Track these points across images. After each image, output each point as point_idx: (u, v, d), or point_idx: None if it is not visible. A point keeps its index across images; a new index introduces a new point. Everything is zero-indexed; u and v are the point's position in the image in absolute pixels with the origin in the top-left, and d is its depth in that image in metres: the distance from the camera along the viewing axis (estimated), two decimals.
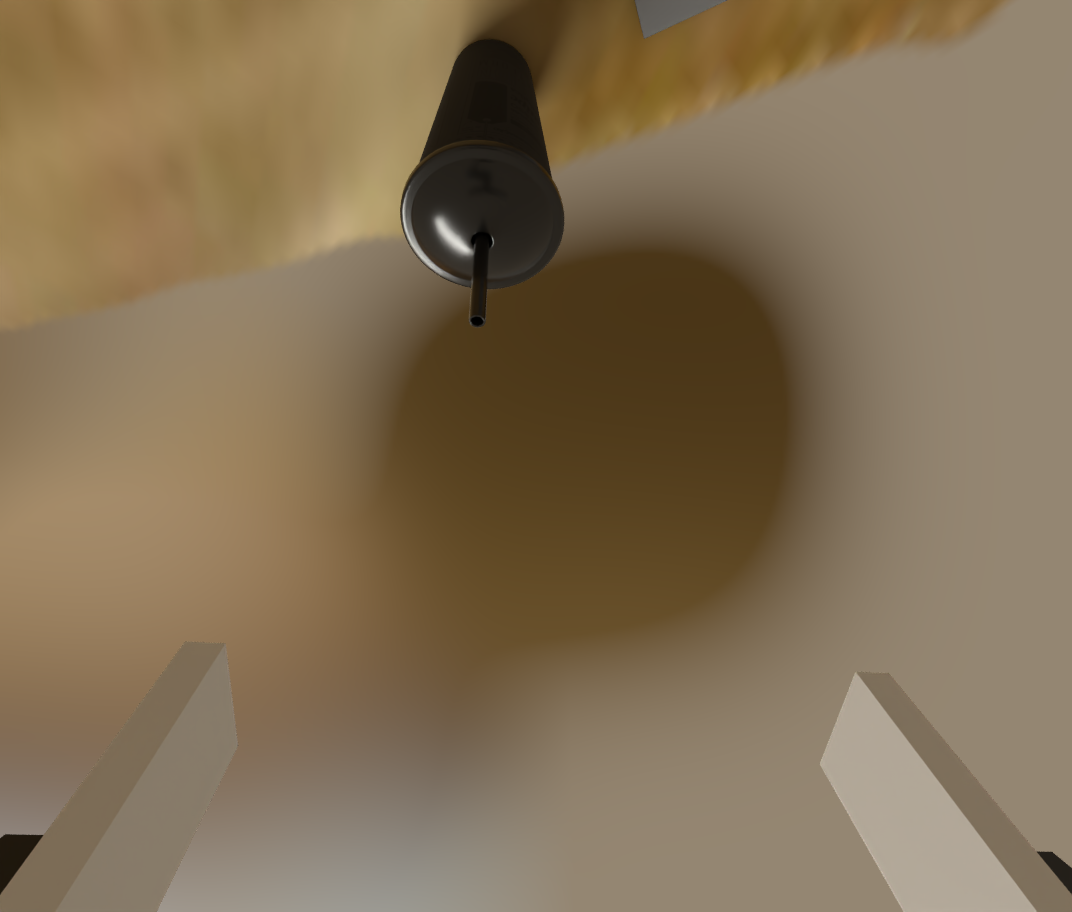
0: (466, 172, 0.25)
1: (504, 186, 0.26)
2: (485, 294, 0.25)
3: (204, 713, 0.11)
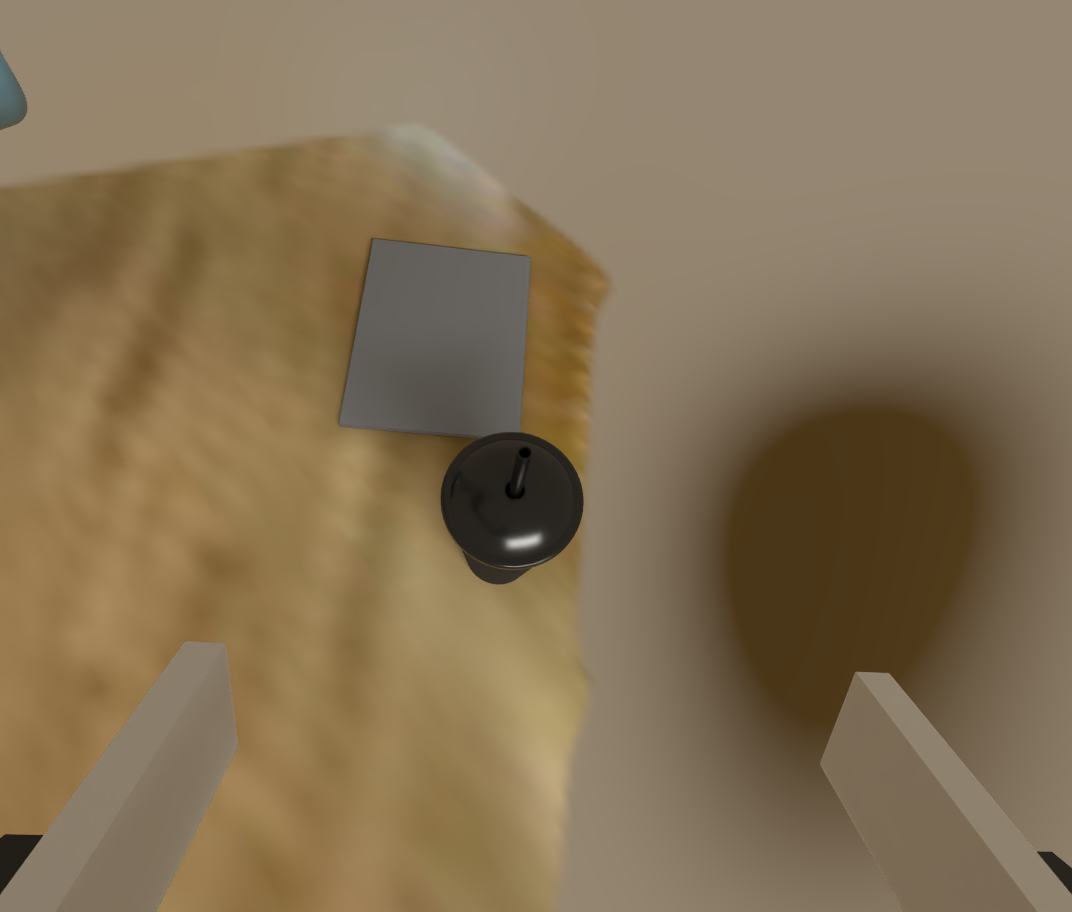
0: (461, 477, 0.31)
1: (484, 456, 0.32)
2: (521, 457, 0.27)
3: (204, 713, 0.11)
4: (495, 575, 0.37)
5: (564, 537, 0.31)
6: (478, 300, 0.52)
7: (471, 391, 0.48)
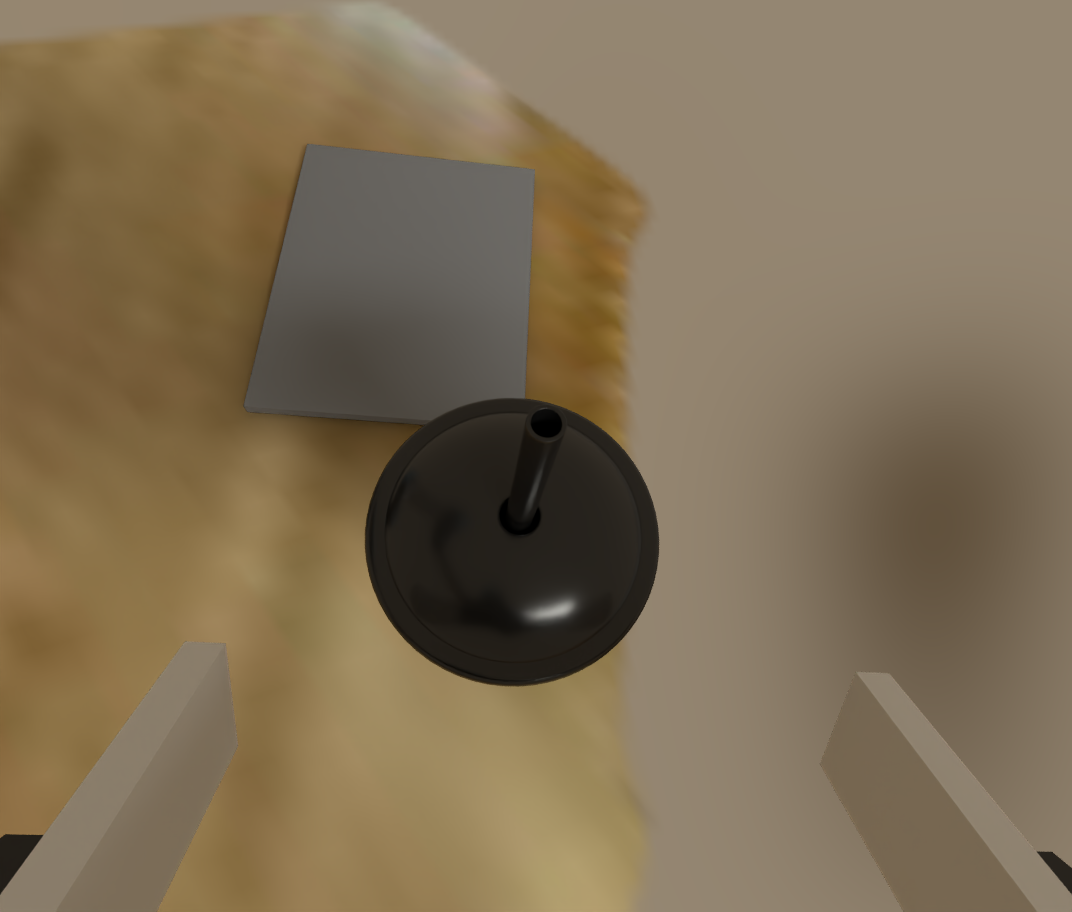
0: (407, 490, 0.15)
1: (455, 445, 0.15)
2: None
3: (204, 713, 0.11)
4: None
5: (625, 612, 0.15)
6: (459, 227, 0.35)
7: (449, 356, 0.32)
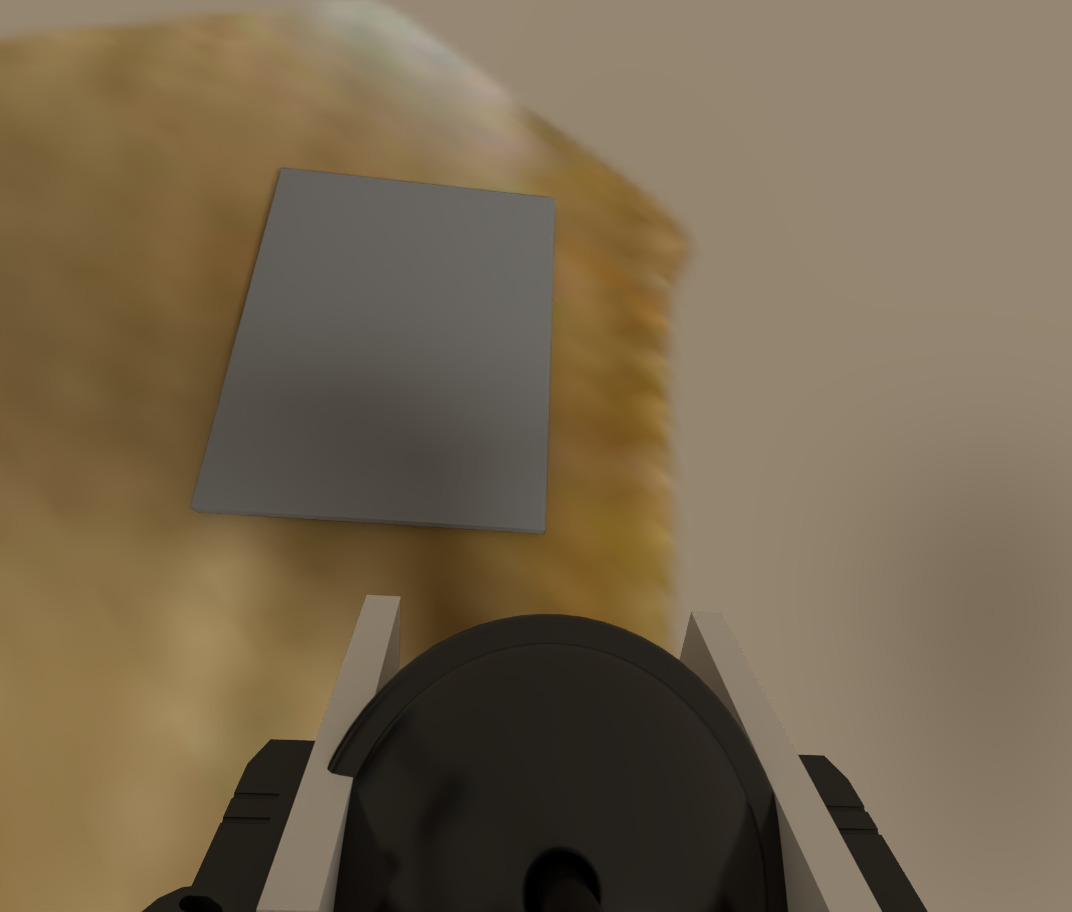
0: (364, 818, 0.09)
1: (449, 727, 0.09)
2: None
3: (392, 653, 0.13)
4: None
5: None
6: (465, 271, 0.29)
7: (452, 437, 0.26)
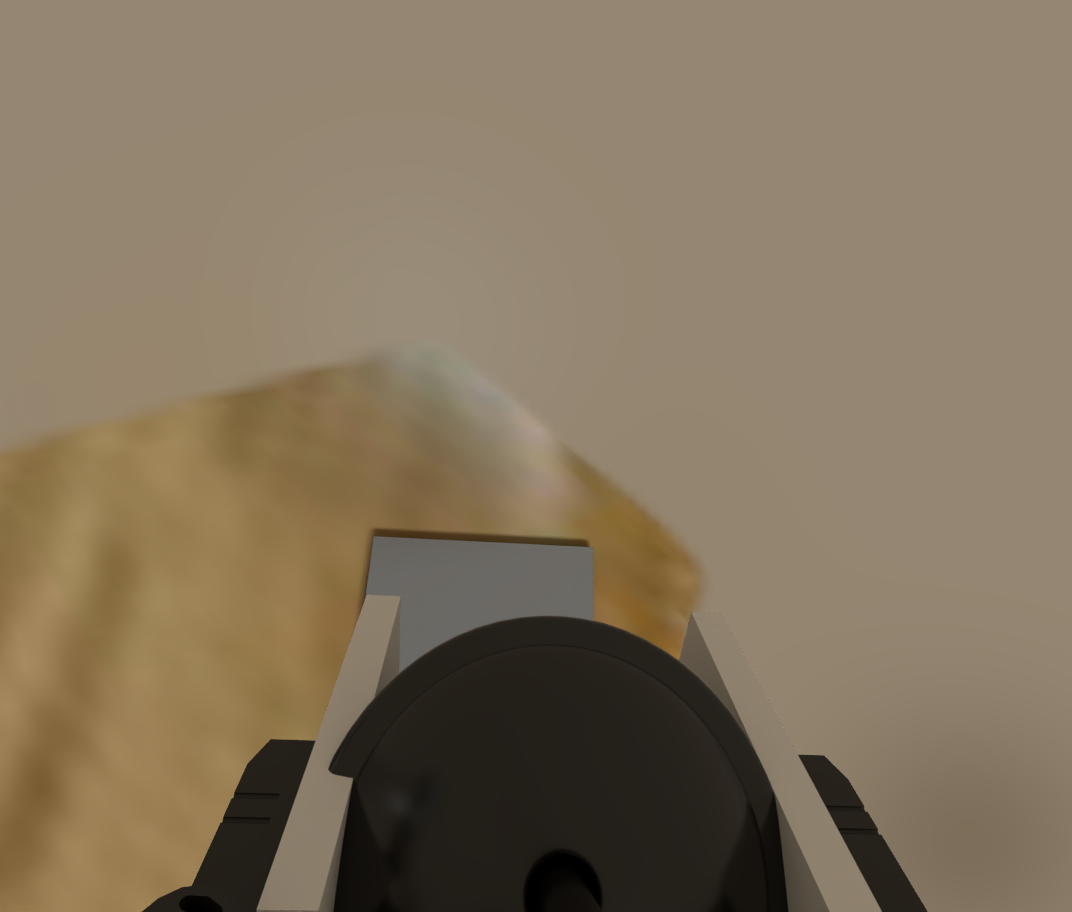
0: (365, 821, 0.09)
1: (449, 729, 0.09)
2: None
3: (392, 653, 0.13)
4: None
5: None
6: None
7: None
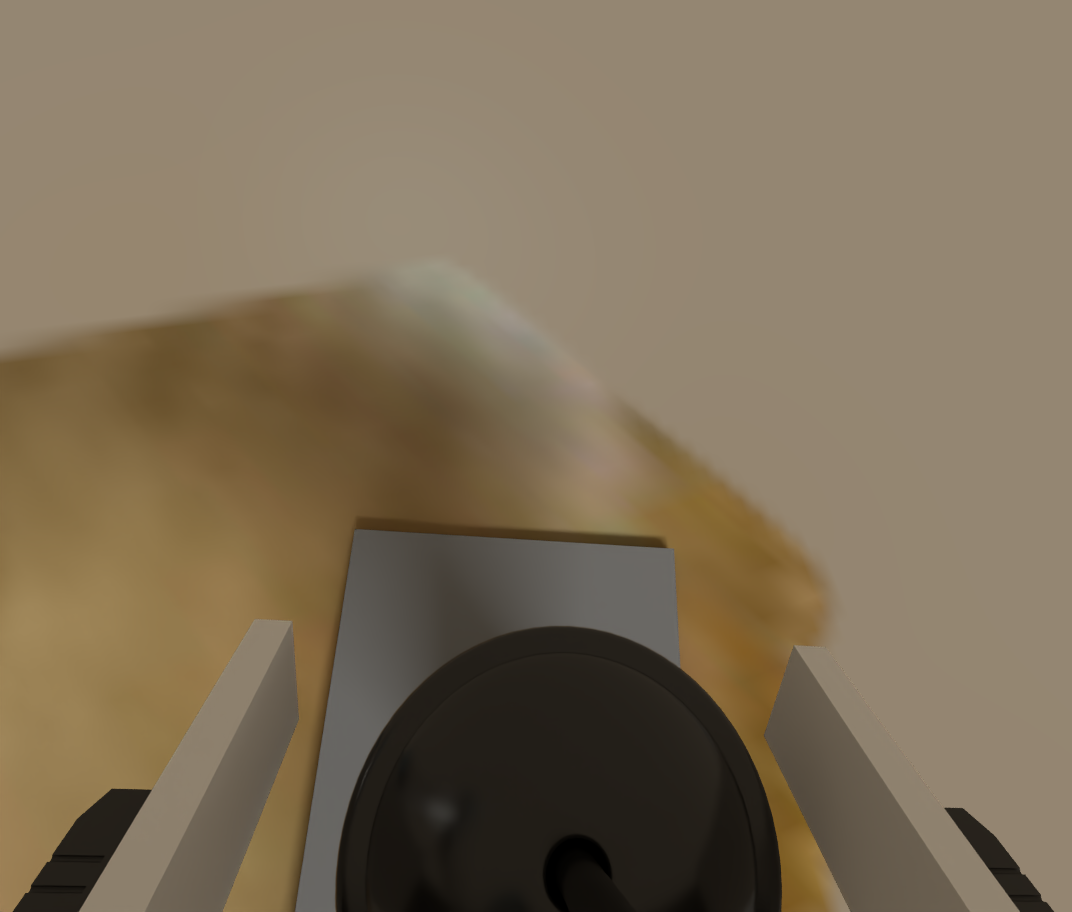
0: (400, 812, 0.10)
1: (473, 730, 0.10)
2: None
3: (276, 685, 0.12)
4: None
5: None
6: None
7: None
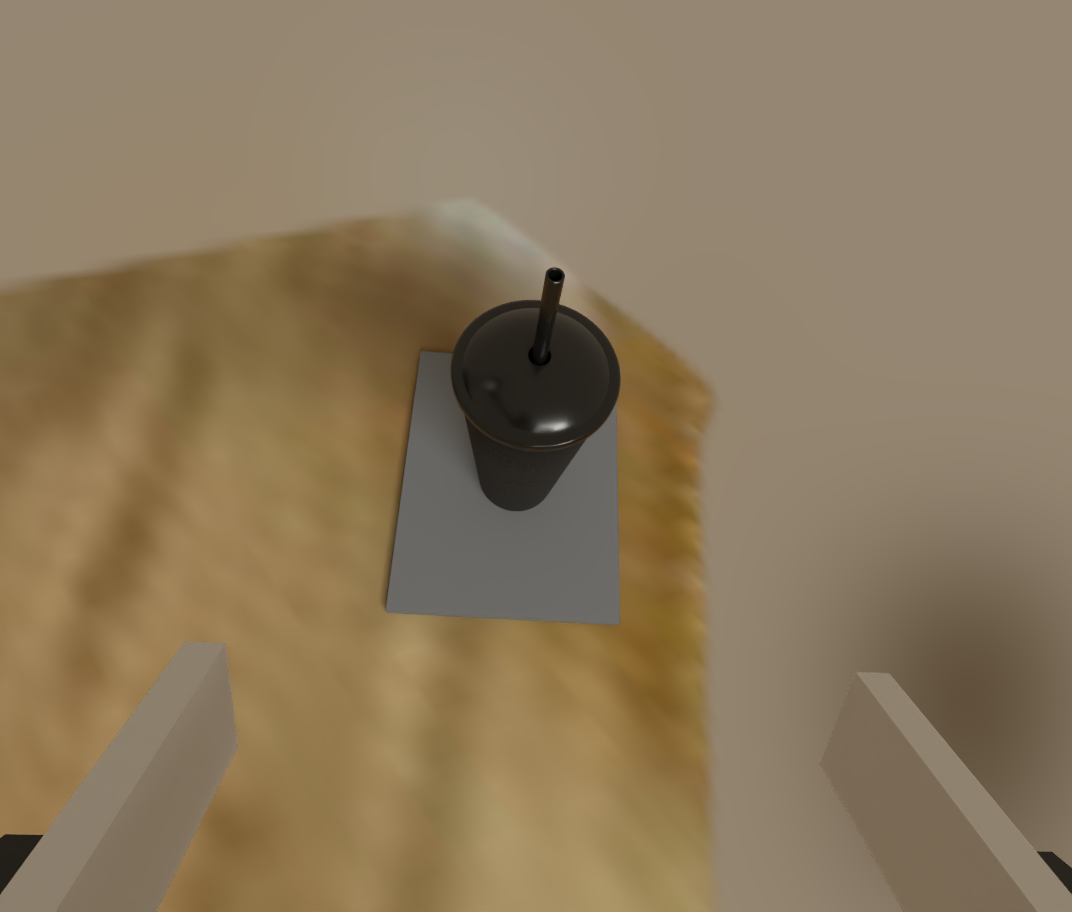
0: (474, 346, 0.26)
1: (501, 322, 0.27)
2: None
3: (204, 713, 0.11)
4: (515, 484, 0.32)
5: (599, 413, 0.26)
6: None
7: (553, 557, 0.37)
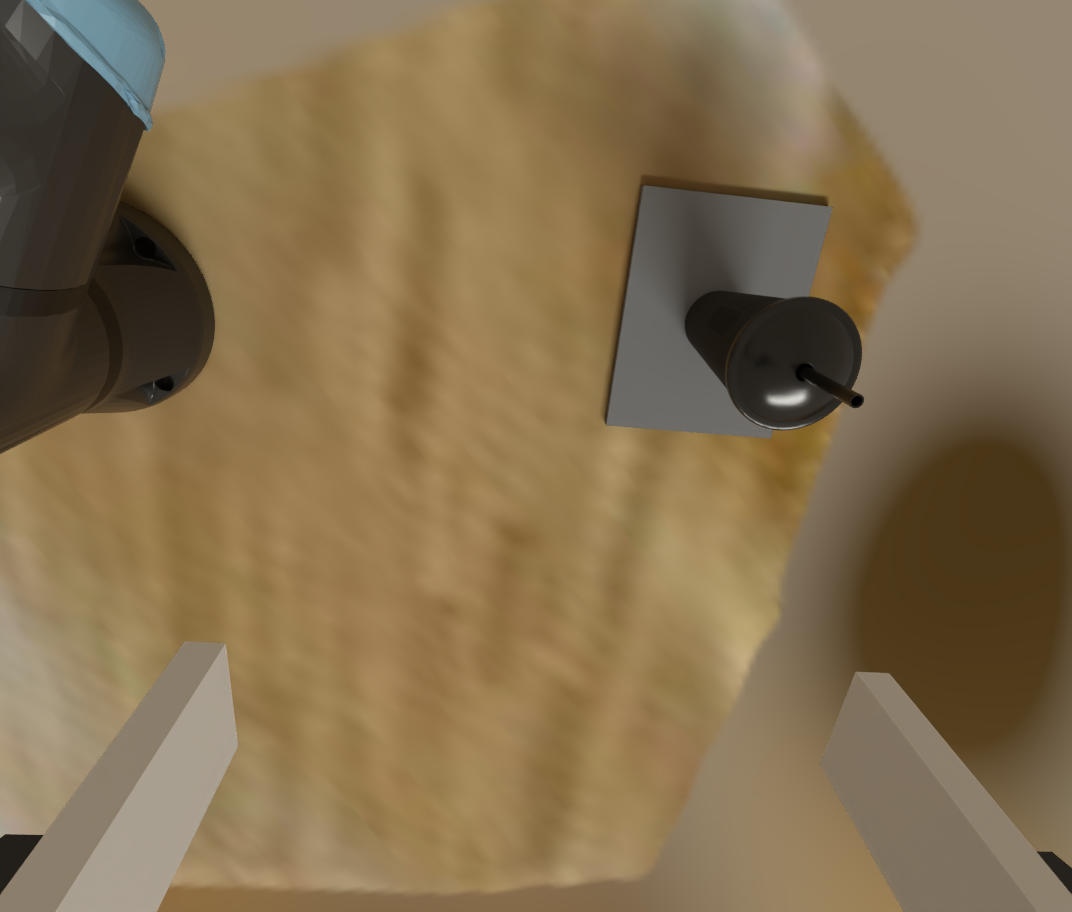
0: (752, 352, 0.33)
1: (778, 331, 0.32)
2: (842, 385, 0.29)
3: (204, 713, 0.11)
4: None
5: (833, 405, 0.34)
6: (758, 276, 0.45)
7: None
